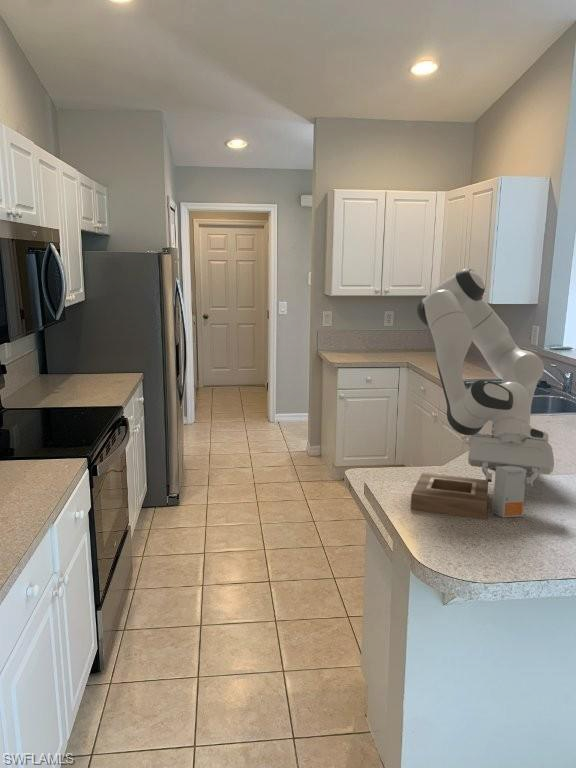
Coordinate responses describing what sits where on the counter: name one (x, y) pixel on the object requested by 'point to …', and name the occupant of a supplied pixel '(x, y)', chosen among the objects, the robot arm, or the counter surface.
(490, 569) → the counter surface
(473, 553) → the counter surface
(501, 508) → the skincare box
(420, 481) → the walnut socket board
